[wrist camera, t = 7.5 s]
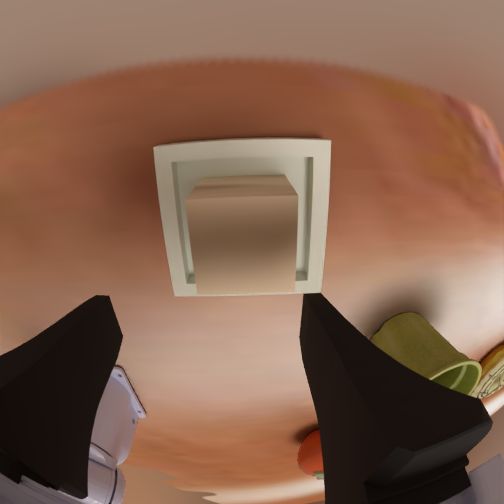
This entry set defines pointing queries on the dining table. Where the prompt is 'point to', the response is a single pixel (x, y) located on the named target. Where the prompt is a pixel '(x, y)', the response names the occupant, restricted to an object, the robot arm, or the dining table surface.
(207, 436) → the dining table surface
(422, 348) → the plant pot
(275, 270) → the maple block
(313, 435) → the tomato
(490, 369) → the decorated donut
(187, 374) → the dining table surface
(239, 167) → the tray
